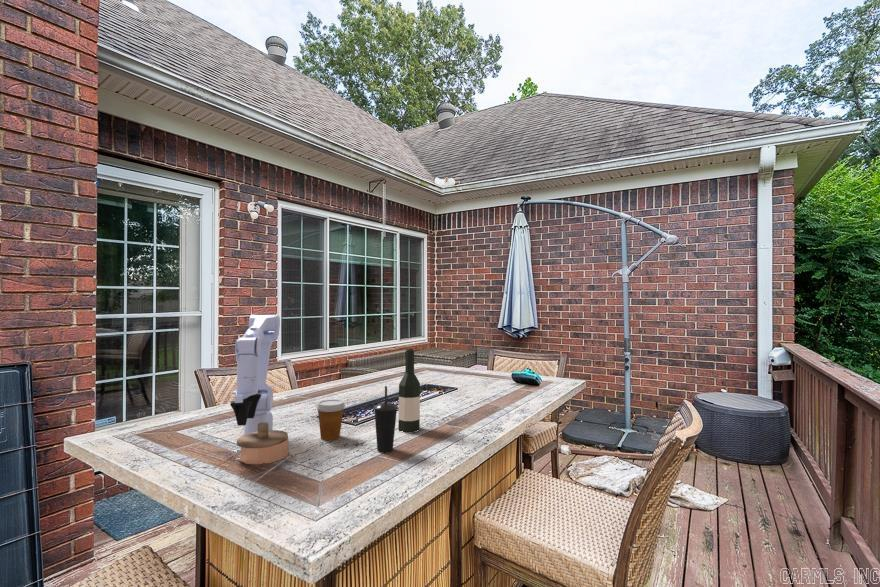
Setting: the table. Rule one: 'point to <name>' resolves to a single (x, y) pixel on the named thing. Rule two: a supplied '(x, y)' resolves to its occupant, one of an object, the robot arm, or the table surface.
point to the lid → (262, 437)
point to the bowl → (264, 453)
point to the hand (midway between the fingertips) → (246, 421)
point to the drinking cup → (385, 424)
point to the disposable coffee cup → (330, 418)
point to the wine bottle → (409, 397)
